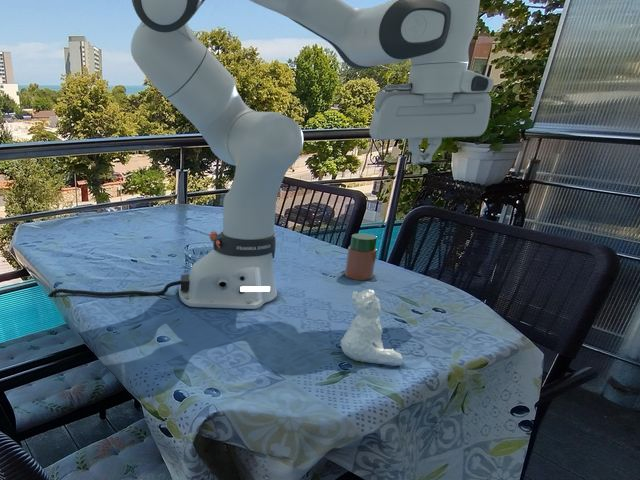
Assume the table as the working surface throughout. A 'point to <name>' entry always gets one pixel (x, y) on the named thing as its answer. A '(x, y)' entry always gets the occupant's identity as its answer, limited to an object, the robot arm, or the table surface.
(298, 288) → the table surface
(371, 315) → the white creature statuette
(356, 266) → the brown jar green lid
